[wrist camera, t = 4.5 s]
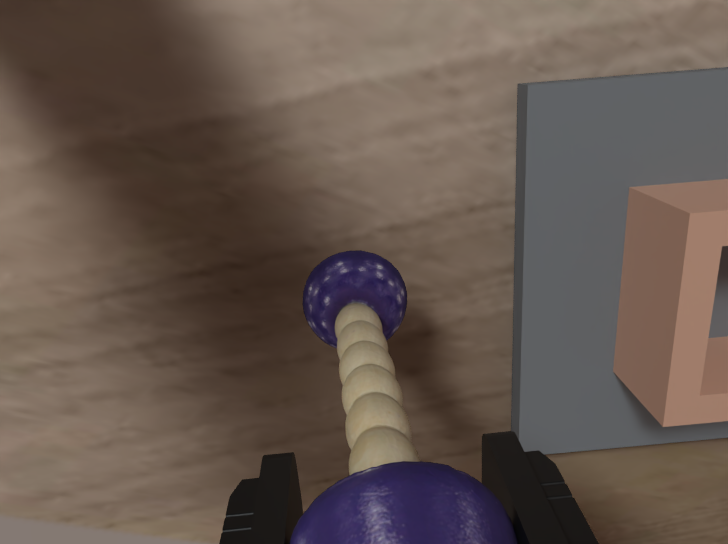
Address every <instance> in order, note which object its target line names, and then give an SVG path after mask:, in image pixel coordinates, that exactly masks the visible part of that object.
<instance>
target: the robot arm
mask: <svg viewBox="0 0 728 544" xmlns="http://www.w3.org/2000/svg"><path fill="white" fill-rule="evenodd" d="M482 484H483V485H484V486H486V487H487V488H488V489H489V490H490V491H491V492H492V493H493V494H494V495H495V496H496V497H497V498H498V499H499V500H500V502H501V503H502V505H503V507H504V508H505V510H506V512H507V514H508V516H509V517H510V519H511V522H512V524H513V528H514V531H515V534H516V538H517V542H518V544H599V543H598V541H597V540H596V538H595V536H594V534H593V532H592V530H591V529H590V527H589V525H588V523H587V521H586V519H585V518H584V516H583V514H582V512H581V510H580V508H579V507H578V505H577V503H576V501H575V499H574V498H572V494H571V492H570V490H569V488H568V486H567V484H565V482H564V479H563V477H562V475H561V473H560V472H559V470H558V468H557V466H556V464H555V463H554V462H552V461H551V460H550V459H549V458H547V457H546V456H545V455H544V454H543V453H541V452H540V451H539V450H538V451H528V452H524V450H523V448H522V446H521V444H520V442H519V440H518V438H517V435H516V434H515V432H514V431H508V432H498V433H488V434H483V436H482ZM302 515H303V509H302V500H301V493H300V486H299V479H298V472H297V466H296V459H295V454H294V452H292V453H282V454H272V455H264V456H263V458H262V464H261V470H260V476H259V478H254V479H244V480H242V481H241V482H240V483H239V485H238V486H237V487H236V489H235V490H234V491H233V493H232V494H231V496H230V498H229V503H228V507H227V512H226V518H225V521H224V525H223V533H222V534H221V539H220V543H219V544H289V542H290V540H291V536H292V534H293V531H294V528H295V526H296V525H297V523H298V520H299V519H300V517H301V516H302Z"/></svg>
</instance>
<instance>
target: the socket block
mask: <svg viewBox="0 0 728 544" xmlns="http://www.w3.org/2000/svg"><path fill="white" fill-rule="evenodd" d="M511 431H514V432H515V434H516V435H517V438H518V440H519V442H520V444H521V446H522V448H523V450H524V452H528V451H538V450H539V451H540V452H541V453H543V454H555V453H566V452H576V451H587V450H598V449H609V448H620V447H631V446H641V445H652V444H663V443H674V442H685V441H696V440H707V439H717V438H728V67H725V68H712V69H699V70H687V71H674V72H661V73H649V74H636V75H623V76H611V77H598V78H585V79H573V80H560V81H547V82H535V83H522V84H518V95H517V148H516V201H515V253H514V306H513V359H512V411H511Z"/></svg>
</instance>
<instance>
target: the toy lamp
mask: <svg viewBox="0 0 728 544" xmlns="http://www.w3.org/2000/svg"><path fill="white" fill-rule="evenodd" d="M406 305H407V291H406V287H405V283H404V281H403V279H402V277H401V275H400V273H399V272H398V270H397V269H396V268H395V267H394V266H393V265H392V264H391V263H390V262H389V261H387V260H386V259H384V258H382V257H381V256H379V255H376V254H373V253H369V252H365V251H346V252H342V253H338V254H335V255H332V256H330V257H328V258H327V259H325V260H324V261H322V262H321V263H320V264H319V265H317V266H316V267H315V268H314V269H313V271H312V272H311V274H310V276H309V277H308V279H307V281H306V285H305V288H304V291H303V309H304V314H305V317H306V319H307V321H308V324H309V325H310V327H311V328H312V330H313V331H314V333H315V334H316V335H317V336H318V337H319V338H320V339H321V340H322V341H324V342H325V343H327V344H329V345H330V346H333V347H335V348H337V353H338V357H339V359H340V364H339V375H340V379H341V382H342V385H343V388H342V403H343V407H344V410H345V412H346V415H347V418H346V423H345V429H346V438H347V442H348V445H349V447H350V449H351V453H350V458H349V475H350V476H348V477H346V478H344V479H342V480H339V481H338V482H337V483H335V484H334V485H333V486H331V487H329V488H328V489H327V490H326V491H324V492H323V493H322V494H321V495H319V496H318V497H317V498H316V499H315V500H314V501H313V503H312V504H311V505H310V507H309V508H308V509H307V510H306V511H305V513H304V514H303V515H302V516H301V517H300V519H299V520H298V523H297V525H296V526H295V528H294V531H293V534H292V536H291V540H290V542H289V544H518V542H517V538H516V534H515V531H514V528H513V524H512V522H511V519H510V517H509V516H508V514H507V512H506V510H505V508H504V507H503V505H502V503H501V502H500V500H499V499H498V498H497V497H496V496H495V495H494V494H493V493H492V492H491V491H490V490H489V489H488V488H487V487H486V486H484V485H483V484H482V483H481V482H479V481H478V480H476V479H475V478H473V477H471V476H470V475H469V474H467V473H465V472H462V471H458V470H455V469H454V468H452V467H450V466H448V465H444V464H438V463H431V462H420V459H419V456H418V453H417V451H416V449H415V447H414V446H413V444H412V443H411V426H410V423H409V420H408V417H407V414H406V413H405V411H404V409H403V408H402V407H403V396H402V391H401V388H400V385H399V383H398V382H397V380H396V378H395V367H394V364H393V361H392V359H391V357H390V355H389V353H388V344H387V340H388V339H389V338H390V337H391V336H392V335H393V334H394V333H395V331H396V330H397V329H398V327H399V326H400V324H401V322H402V320H403V318H404V315H405V310H406Z"/></svg>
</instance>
